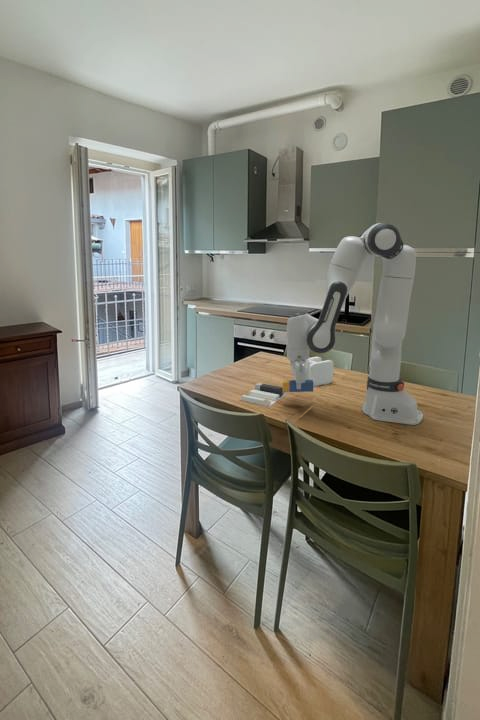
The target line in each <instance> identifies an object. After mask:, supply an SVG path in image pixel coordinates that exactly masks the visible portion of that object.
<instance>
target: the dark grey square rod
mask: <svg viewBox="0 0 480 720" xmlns="http://www.w3.org/2000/svg"><path fill="white" fill-rule="evenodd" d="M254 390H258V391H263V392H268V393H273V394H278V395H280V396H279V398H280V397H282V395H283V386H277V385H273V384H267V383H261V382H257V383H256V384H254ZM282 398H283V397H282Z"/></svg>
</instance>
